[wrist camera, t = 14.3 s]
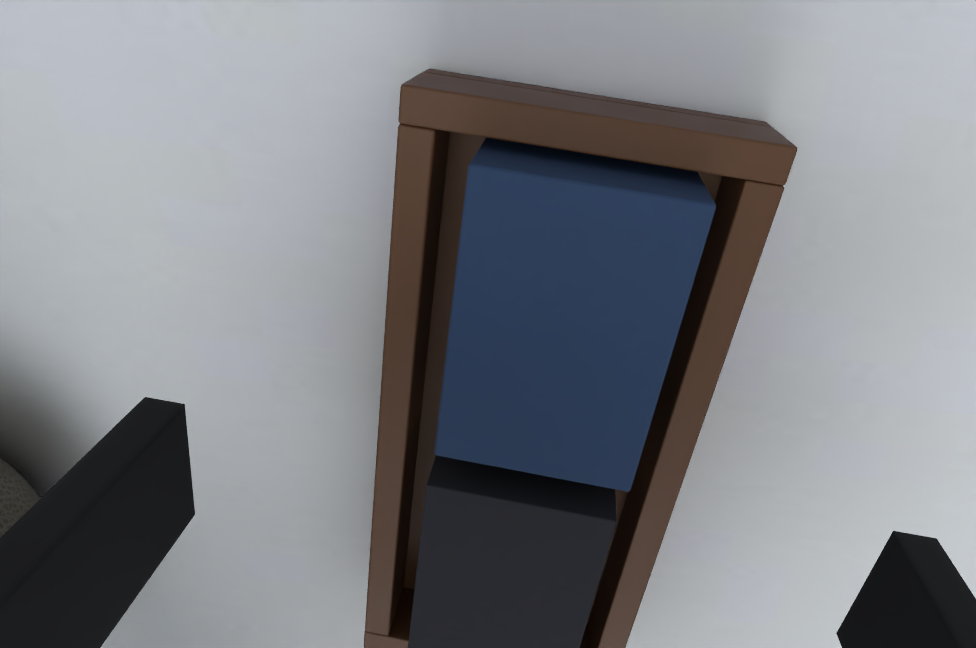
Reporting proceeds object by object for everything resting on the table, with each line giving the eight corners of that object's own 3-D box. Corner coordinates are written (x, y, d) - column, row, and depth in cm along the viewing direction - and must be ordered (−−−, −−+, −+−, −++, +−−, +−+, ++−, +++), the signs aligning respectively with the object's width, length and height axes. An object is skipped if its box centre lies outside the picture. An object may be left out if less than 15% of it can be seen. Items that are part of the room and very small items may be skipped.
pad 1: (623, 416, 24) (630, 493, 20) (455, 385, 24) (433, 456, 20) (694, 163, 19) (717, 205, 16) (489, 129, 20) (468, 163, 16)
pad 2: (566, 611, 28) (564, 701, 25) (427, 583, 29) (405, 668, 25) (612, 442, 24) (617, 521, 21) (449, 411, 25) (426, 484, 21)
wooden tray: (606, 628, 30) (607, 698, 27) (384, 583, 30) (363, 648, 27) (767, 121, 19) (799, 146, 17) (427, 67, 20) (400, 83, 17)
